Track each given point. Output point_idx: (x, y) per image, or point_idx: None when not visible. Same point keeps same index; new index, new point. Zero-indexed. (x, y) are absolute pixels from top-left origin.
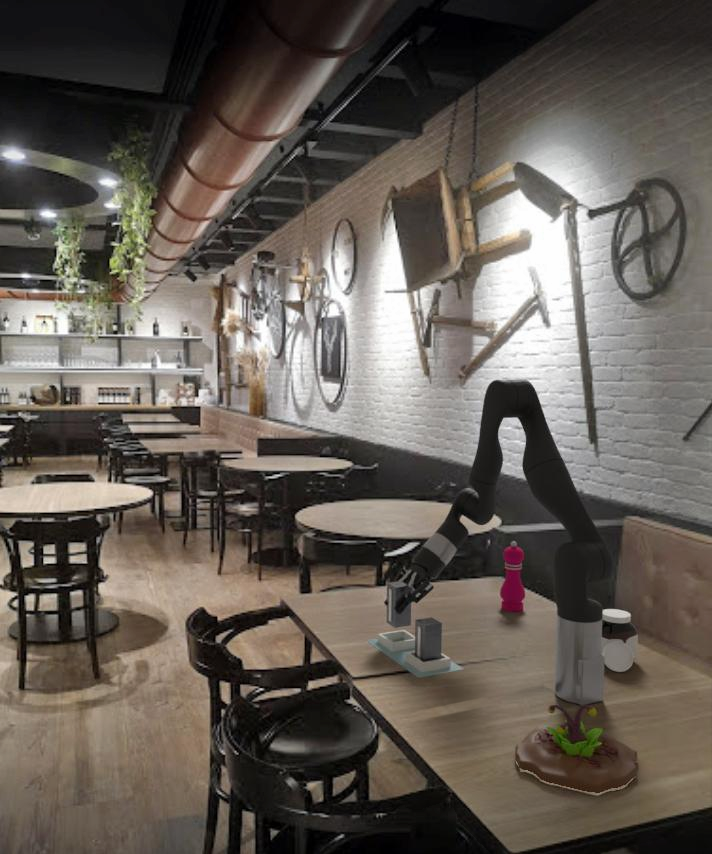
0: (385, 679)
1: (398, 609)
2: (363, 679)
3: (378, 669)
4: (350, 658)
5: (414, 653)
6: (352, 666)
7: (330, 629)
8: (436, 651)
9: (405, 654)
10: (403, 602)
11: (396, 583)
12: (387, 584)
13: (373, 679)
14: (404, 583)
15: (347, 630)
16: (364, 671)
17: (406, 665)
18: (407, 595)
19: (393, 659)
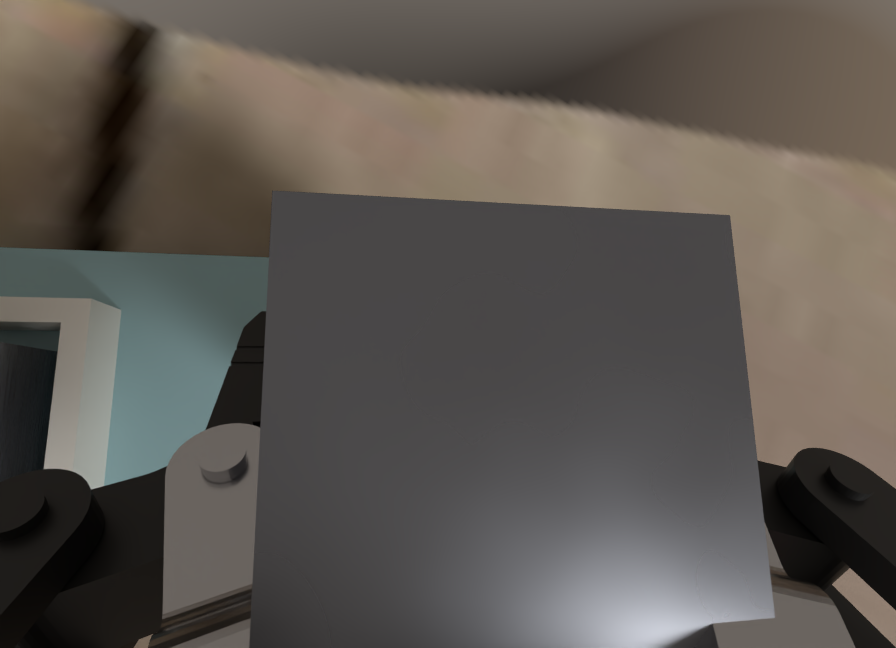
0: (41, 134)
1: (264, 320)
2: (107, 41)
3: (191, 172)
4: (401, 125)
5: (63, 360)
6: (297, 81)
7: (807, 230)
8: None
9: (97, 301)
10: (232, 390)
11: (603, 404)
12: (683, 226)
13: (78, 82)
14: (526, 633)
15: (772, 301)
16: (204, 97)
17: (48, 278)
18: (166, 472)
19: (183, 258)
